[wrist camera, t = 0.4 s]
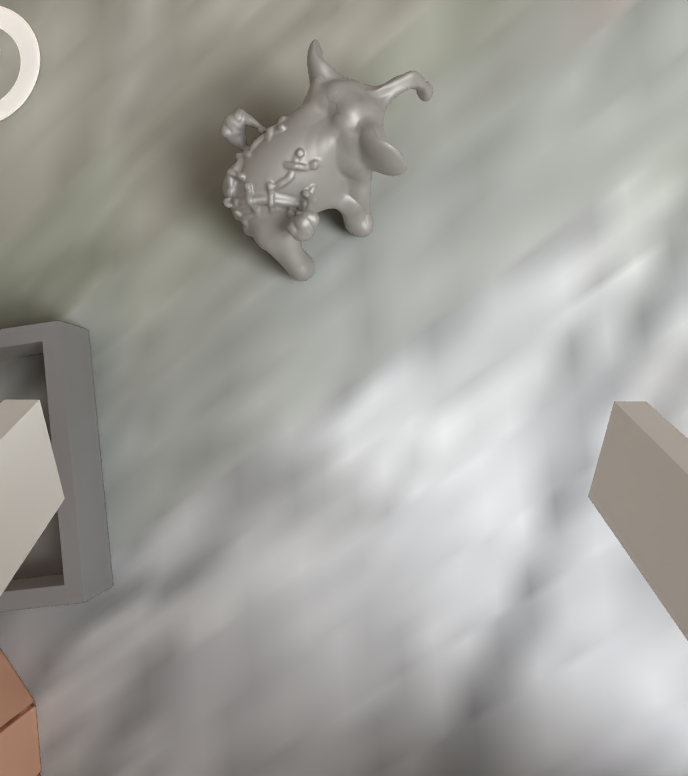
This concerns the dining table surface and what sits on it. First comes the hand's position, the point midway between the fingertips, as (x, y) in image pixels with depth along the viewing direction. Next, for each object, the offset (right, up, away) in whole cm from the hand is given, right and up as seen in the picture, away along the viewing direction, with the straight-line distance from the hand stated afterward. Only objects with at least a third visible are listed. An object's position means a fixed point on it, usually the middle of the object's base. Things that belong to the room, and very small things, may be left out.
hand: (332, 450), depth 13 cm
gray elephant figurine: (0, +13, +19) cm, 24 cm away
